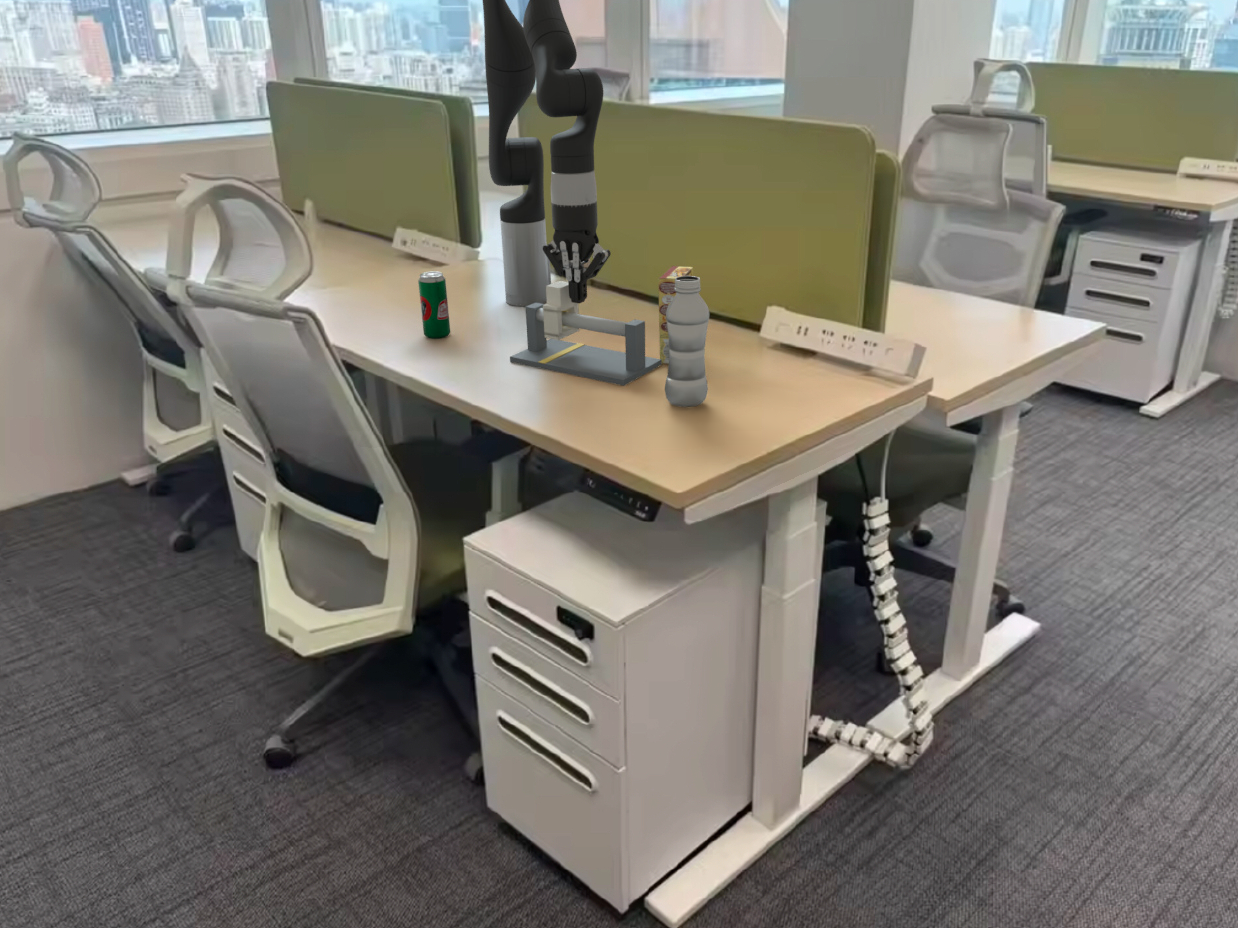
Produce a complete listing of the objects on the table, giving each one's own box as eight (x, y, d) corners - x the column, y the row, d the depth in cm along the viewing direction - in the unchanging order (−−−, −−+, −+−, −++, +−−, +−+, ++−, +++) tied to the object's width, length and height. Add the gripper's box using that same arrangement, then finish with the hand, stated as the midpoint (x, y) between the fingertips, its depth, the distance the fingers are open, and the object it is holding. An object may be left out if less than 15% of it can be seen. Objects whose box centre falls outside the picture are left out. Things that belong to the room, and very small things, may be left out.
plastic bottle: (662, 398, 160) (661, 274, 151) (704, 396, 160) (706, 272, 152) (667, 413, 154) (667, 285, 145) (711, 410, 154) (713, 283, 146)
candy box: (681, 366, 173) (682, 279, 167) (658, 364, 175) (657, 277, 168) (693, 350, 181) (694, 266, 175) (671, 348, 182) (671, 265, 176)
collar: (565, 328, 179) (563, 279, 175) (579, 330, 178) (577, 281, 174) (544, 337, 174) (541, 287, 171) (558, 340, 173) (556, 289, 169)
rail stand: (551, 343, 186) (548, 296, 182) (661, 365, 174) (661, 314, 170) (510, 362, 177) (506, 312, 173) (623, 385, 165) (622, 333, 161)
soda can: (445, 340, 189) (439, 278, 184) (420, 339, 190) (413, 277, 185) (454, 332, 194) (448, 271, 189) (429, 331, 195) (423, 270, 190)
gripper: (620, 198, 164) (622, 301, 171) (555, 192, 171) (560, 292, 178) (594, 206, 158) (597, 312, 166) (528, 199, 165) (534, 302, 172)
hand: (578, 301), depth 172 cm, fingers closed
